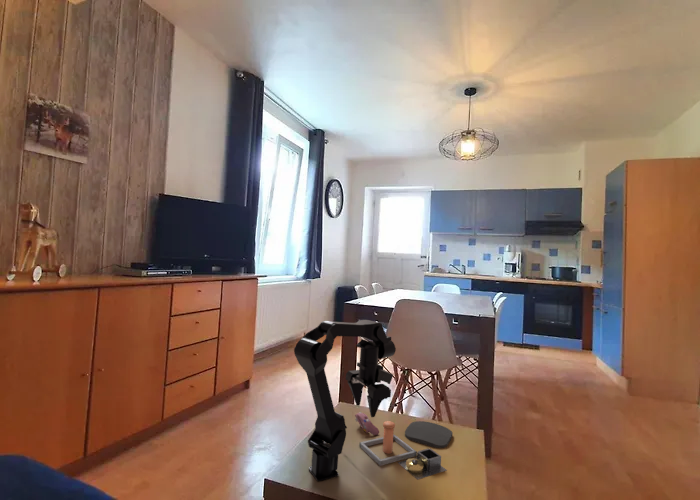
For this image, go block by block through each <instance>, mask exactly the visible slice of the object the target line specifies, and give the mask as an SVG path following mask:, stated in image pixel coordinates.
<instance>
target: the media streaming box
mask: <svg viewBox="0 0 700 500" xmlns="http://www.w3.org/2000/svg"><path fill="white" fill-rule="evenodd" d="M404 437H405V438H406V439H407V440H409V441H410V442H411V441H412V442H414V443H418V444H421V445H423V446H427V447H431V448H435V449H445V448H447V447H448V445H449V444H450V443H451V440H452V438H453V431H452V430H451V429H449V428H448V427H446V426H443V425H441V424H438V423H434V422H430V421H421V420H417V421H416V420H415V421H412V422H411V423H410V424H409V425H408V426H407V427H406V428H405V431H404Z"/></svg>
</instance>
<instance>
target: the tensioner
mask: <svg viewBox="0 0 700 500" xmlns="http://www.w3.org/2000/svg"><path fill="white" fill-rule="evenodd" d="M397 463H398V465H399V466H401V467H402V468H404V470H406V471H407V472H408V473H409V474H411V476H413V477H414V478H415V479H416V480H421V479H423V478H424V479H425V478H427V477H430V476H433V475H436V474H440V473H443V472H447V471H448V469H447V468H445V467H443V466H442V465H441V464H442V455H440V454H439V453H437V452H436V451H435V450H434V449H432V448H425V449H420V450H418V451H417V456H414V457H410V458H407V459H404V460H400V461H397Z"/></svg>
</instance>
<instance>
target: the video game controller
mask: <svg viewBox="0 0 700 500" xmlns="http://www.w3.org/2000/svg"><path fill="white" fill-rule="evenodd" d="M354 417H355V418H354V420H355V422H358V423H359V426H360V428H361V429H362V430H363V431H364V432H365V433H366V434H368V433H370V434H371V435H373V436H378V435H380V430H379V428H378V427H377V426H375V425H374V424H373V422H372V421H371V420H370V418H369V416H368V415H367V414H366V413H365V412H364V413H363V412H362V411H359V412H357V413H356V414H354Z"/></svg>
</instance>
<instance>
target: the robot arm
mask: <svg viewBox="0 0 700 500" xmlns="http://www.w3.org/2000/svg"><path fill="white" fill-rule="evenodd" d="M324 337H325V338H324ZM337 337H355V338H356V337H360V338H362V339H360V341H359V342H358V343H357V344H356V345H355V346H356V347H357V348H359V349H360V352H359V362H356V366H357V368H358V369H354V370H348V371H347V372H346V373H345V380H346V381H347V382H346V383H347V384H348V386H349V388H350V391H351V393H352V396H353V400H354V402H355V405H356V406H360V405H361V402H362V395H363V389H364V387H367V395H366V398H367V399H366V400H367V405H368V409H369V410H368V411H369V413H370V414H369V415H370V417H371V418H375V417H376V415H377V412H378V409H379V407H380V405H381V404H382V401H384V400H387V399H388V398H391V396H392V390H391V388H390V387H389V386H388V385H391V382H392V379H393V377H394V374H393V373H391V372H389V371H387V370H385V369H384V366H383V365H381V364H379V362H378V361H379V360H382V359H385V358H391V357H393V356H394V355H395V353H396V351H397V348H396V345H395V343H394V341H393V340H392V336H390V335H389V336H388V335H387V334H386V332H385V329H384V327H383V324H382V323H381V322H377V321H374V320H369V319H362V320H357V322H356V321H355V322H345V321H344V322H343V321H331V320H324V321H321V322H320V323H319V324H318V325H317V327H315V328H313V329H311V330H309V331H308V332H306V333H305V335H304V336H302V338H300V339H299V340H298V341H297V343H296V345H295V346H294V348H293V351H294V352H293V354H294V357H295V358H296V361H297V362H298V365H300V367H301V368H302V369H303V371H304V372H305V373H306V376H307V380H308V385H309V389H310V391H311V395H312V400H313V403H314V404H313V405H314V407H315V411H316V416H317V418H316V420H315V422H314V423H315V424H314V427H315V428H314V430H313V432H312V433H311V435H310V437H309V438H308V440H307V444H308V447H309V448H311V449H312V450H311V451H312V452H311V453H312V454H311V465H310V466H309V467H308V470H309V472H310V473H311V474H312V476H313V477H314V479H315V480H316V481H317V482H321V481H324V480H329V479H331V478H336V477H339V475H340V474H339V472H338V466H339V465H338V464H339V455H341V454H342V452H343V449H344V448H343V447H344V444H345V441H346V437H347V429H348V427H347V425H346V419H345V416H344V415H342V414H341V413H338V412H337V411H335V408H334V403H333V399H332V398H333V397H332V395H331V391H330V386H329V383H328V382H329V381H328V379H327V376H326V371H325V368H326V365H327V363H328V354H330V352H331V351H332V350H333V347H334V342H335V339H337ZM322 338H324V340H323V341H322V342H320V341H318V340H320V339H322ZM381 382H384V383H387V384H388V385H386V384H384V383H381Z"/></svg>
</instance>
